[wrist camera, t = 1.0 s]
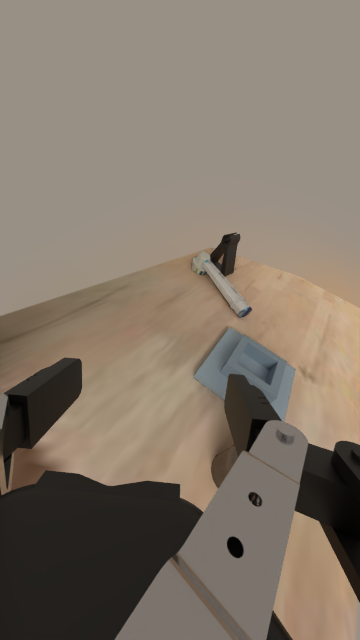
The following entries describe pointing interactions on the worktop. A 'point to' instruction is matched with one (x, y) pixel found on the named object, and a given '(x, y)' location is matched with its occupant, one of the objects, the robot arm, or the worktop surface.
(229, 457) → the steel axle
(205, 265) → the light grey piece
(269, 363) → the block
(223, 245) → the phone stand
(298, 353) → the worktop surface
